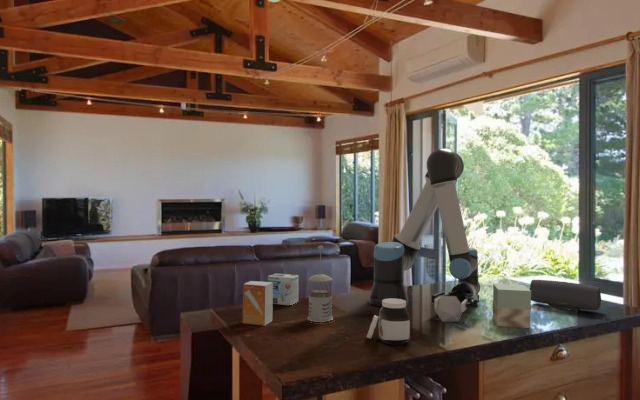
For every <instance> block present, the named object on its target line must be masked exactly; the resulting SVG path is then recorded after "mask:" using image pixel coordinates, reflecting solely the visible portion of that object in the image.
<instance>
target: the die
mask: <svg viewBox="0 0 640 400" xmlns="http://www.w3.org/2000/svg"><path fill="white" fill-rule="evenodd" d="M434 311H435V313H436V314H437V316H438V317H439V319H440V320H441V322H443V323H458V322H460V319H461V317H462V314H463V312H461V303H460V301H459V300H458V299H457V297H456V296H440V299H439V304H438V308H437V309H436V308H434Z"/></svg>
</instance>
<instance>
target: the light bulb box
mask: <svg viewBox="0 0 640 400" xmlns="http://www.w3.org/2000/svg"><path fill="white" fill-rule="evenodd" d="M299 280H300V279H299V275H298V274H287V273H273V274H270V275H268V276H267V282H273V305H274V304H275V305H282V306H289V305H292V306H294V305H296V304H297V302H298V303H299V287H300V286H299ZM295 303H296V304H295ZM293 304H294V305H293Z"/></svg>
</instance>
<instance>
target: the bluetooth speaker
mask: <svg viewBox="0 0 640 400" xmlns="http://www.w3.org/2000/svg"><path fill="white" fill-rule="evenodd" d="M529 290H530V291H531V302H537V303H539V304H540V303H541V304H546V305H548V307H549V308H553V309H559V308H560V309H561V310H565V309H570V310H569V311H572V310H580V311H581V310H587V311H599V310H600V308H601V304H602V303H601V302H602V296H601V295H602V294H601V287H598V286H594V285H590V284H589V285H588V284H583V283H576V282H567V281H558V280H548V279H547V280H545V279H532V280H531V281H530V286H529ZM560 309H559V310H560Z"/></svg>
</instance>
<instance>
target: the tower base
mask: <svg viewBox="0 0 640 400" xmlns="http://www.w3.org/2000/svg"><path fill="white" fill-rule="evenodd" d="M492 319H493V321H494V323H495V325H496V326H498V327H510V328H511V327H512V328H525V329H526V328H527V329H531V310H526V309H509V308H497V306H496V305H495V303H494V302H493V301H492Z"/></svg>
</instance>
